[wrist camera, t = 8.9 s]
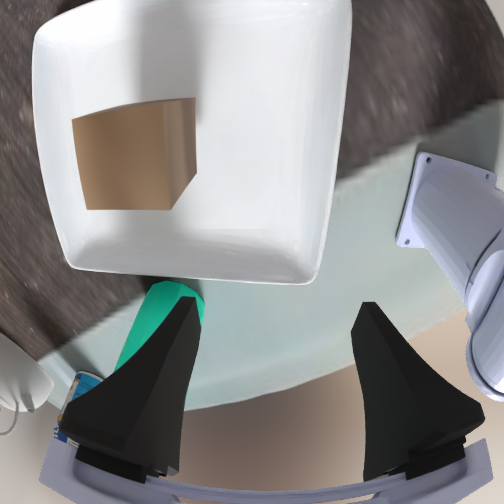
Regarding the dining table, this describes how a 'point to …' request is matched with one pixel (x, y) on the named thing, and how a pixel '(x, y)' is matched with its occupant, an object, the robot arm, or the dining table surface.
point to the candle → (155, 315)
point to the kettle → (21, 380)
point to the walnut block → (136, 154)
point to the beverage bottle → (79, 387)
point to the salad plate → (202, 131)
